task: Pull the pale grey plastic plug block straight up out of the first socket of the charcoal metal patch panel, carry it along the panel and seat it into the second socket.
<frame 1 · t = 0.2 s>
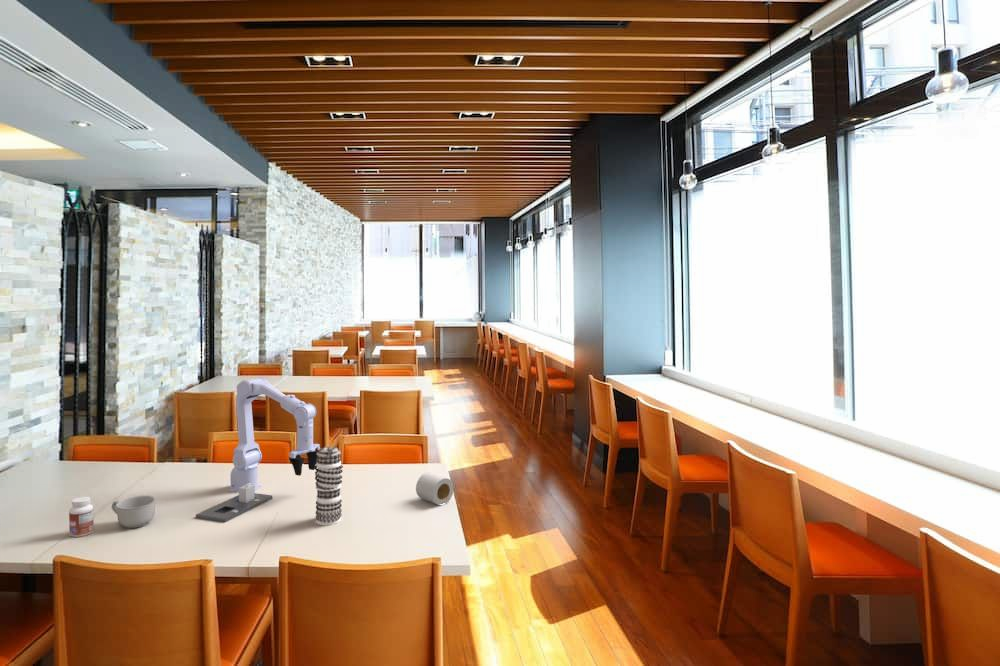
hand: (305, 472, 215), 10 cm above the table, fingers open, 7 cm apart
toilet paper: (434, 502, 215), on the table
pill bottle: (81, 534, 180), on the table
teacup: (132, 524, 189), on the table
grey patterned cylinder: (328, 521, 195), on the table
plug: (246, 502, 209), resting on panel
panel: (236, 508, 204), on the table
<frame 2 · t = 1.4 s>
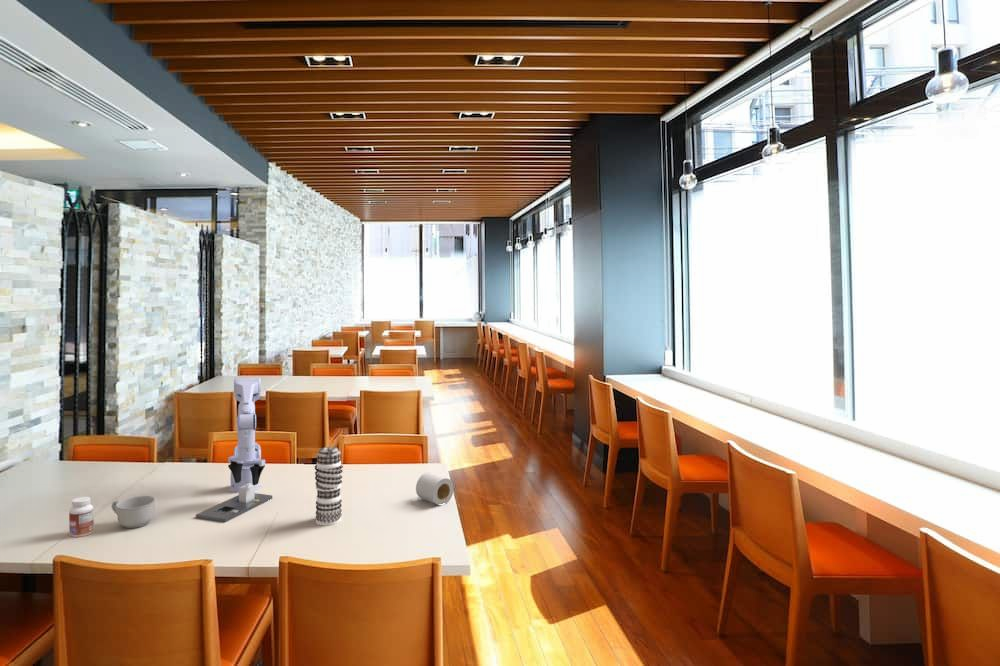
hand: (246, 483, 209), 7 cm above the table, fingers open, 7 cm apart
nothing on the table moved.
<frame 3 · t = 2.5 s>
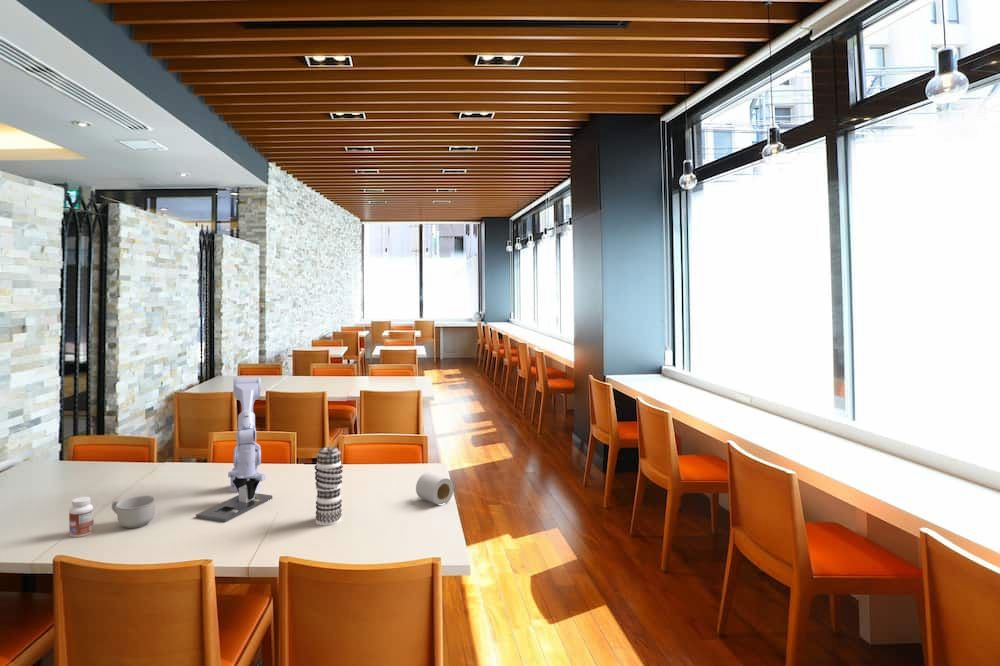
hand: (246, 498, 209), 2 cm above the table, fingers closed on plug, 3 cm apart
plug: (246, 502, 209), resting on panel, touching gripper
everything else where it was.
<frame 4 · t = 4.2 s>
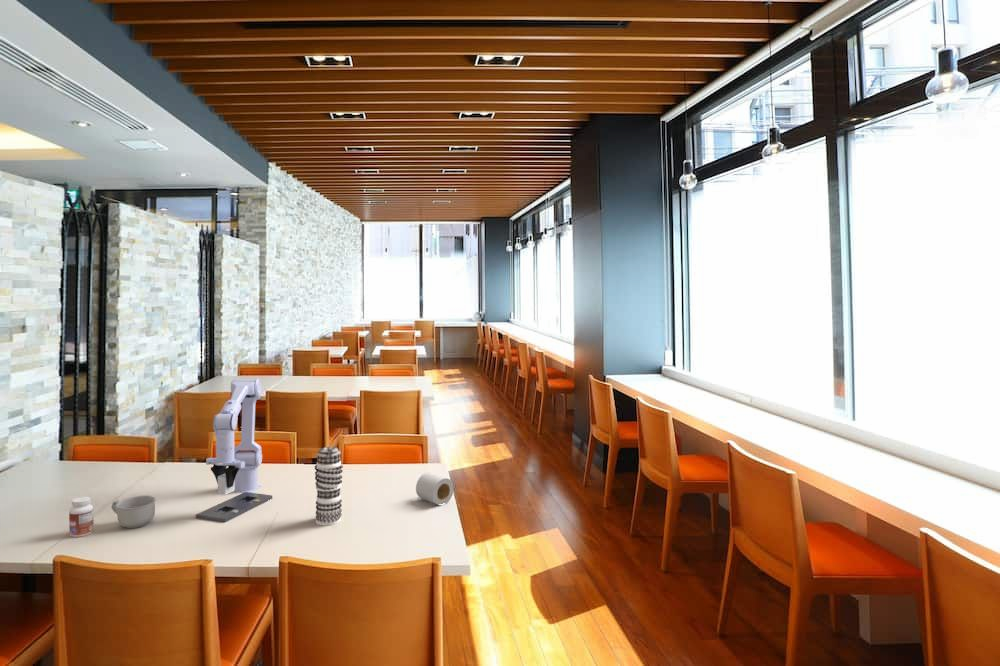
hand: (225, 486, 198), 10 cm above the table, fingers closed on plug, 3 cm apart
plug: (226, 492, 199), point 8 cm above the table, touching gripper
everything else where it was.
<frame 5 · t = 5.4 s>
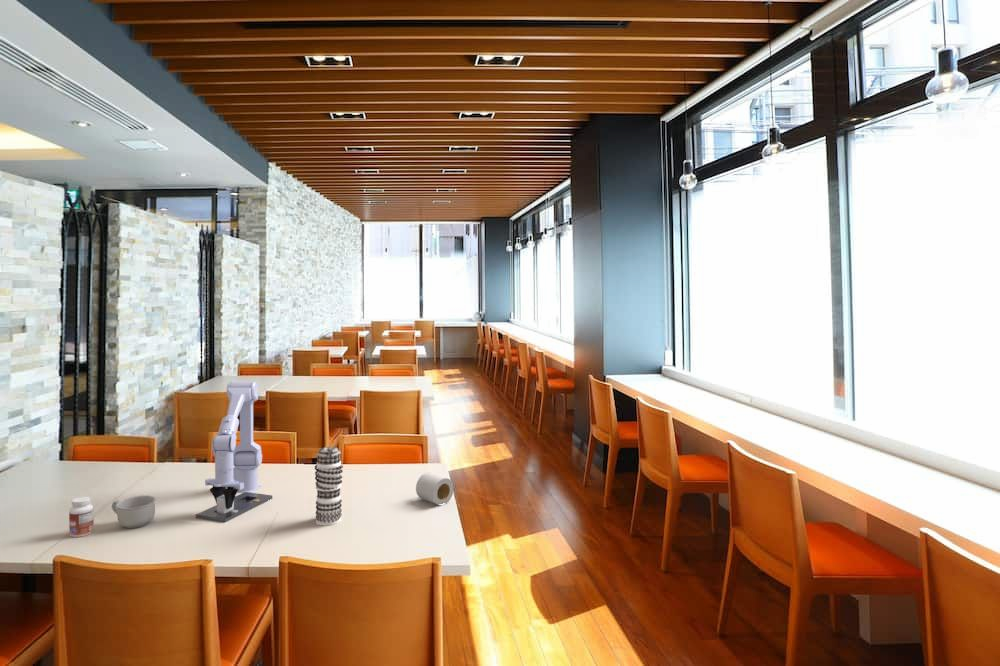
hand: (224, 507, 198), 2 cm above the table, fingers closed on plug, 3 cm apart
plug: (225, 512, 199), resting on panel, touching gripper
everything else where it was.
when the fingers open (2 cm above the table, at t = 5.7 s): plug stays where it is, resting on panel.
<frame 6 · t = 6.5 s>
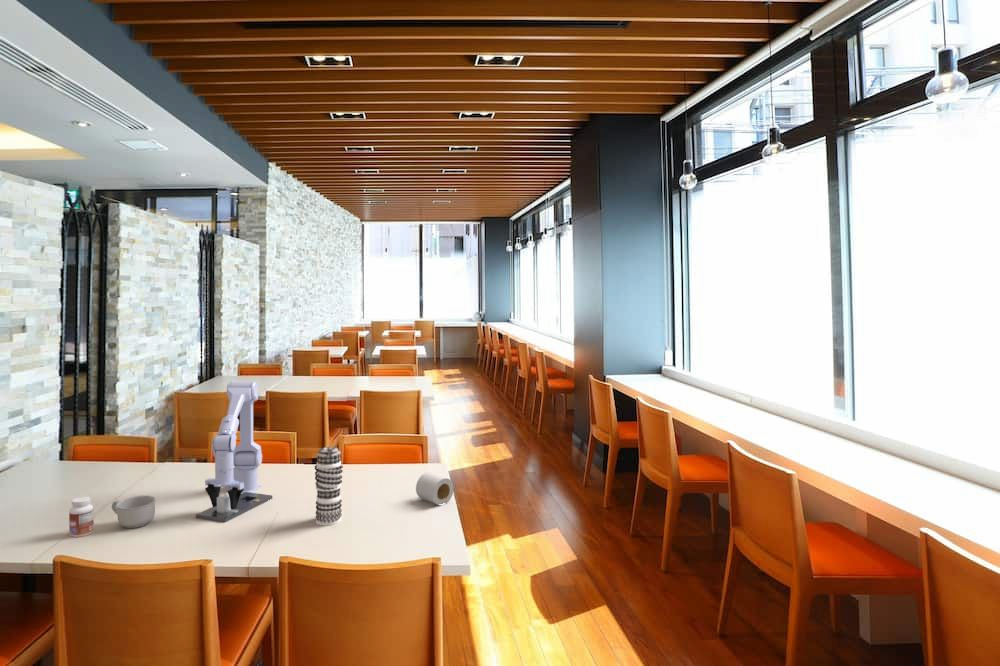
hand: (224, 507, 198), 2 cm above the table, fingers open, 7 cm apart
plug: (225, 512, 199), resting on panel
everything else where it was.
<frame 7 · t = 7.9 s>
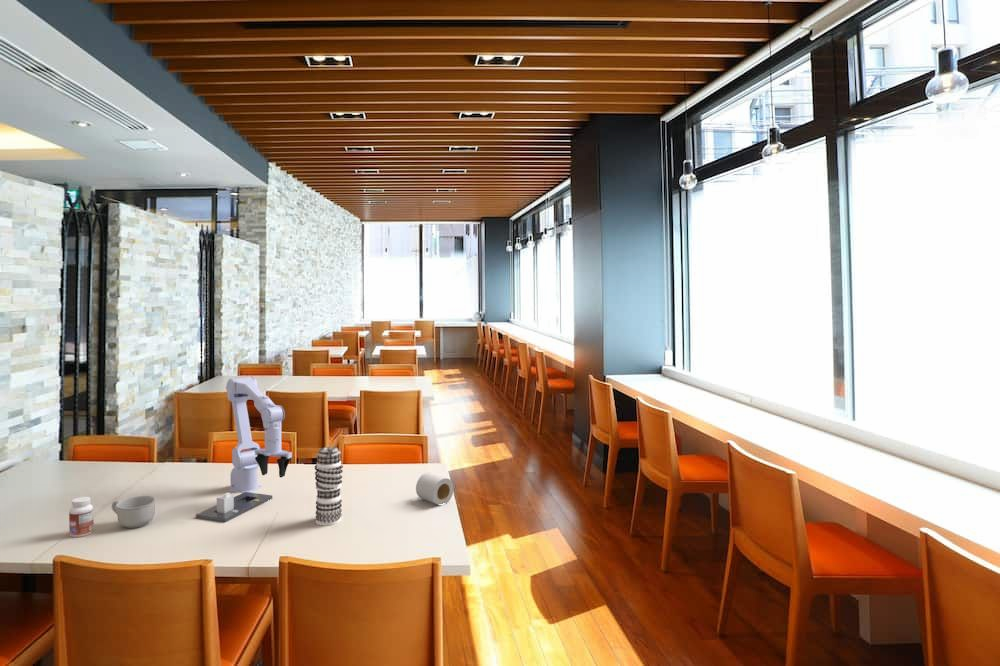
hand: (273, 475, 211), 10 cm above the table, fingers open, 7 cm apart
nothing on the table moved.
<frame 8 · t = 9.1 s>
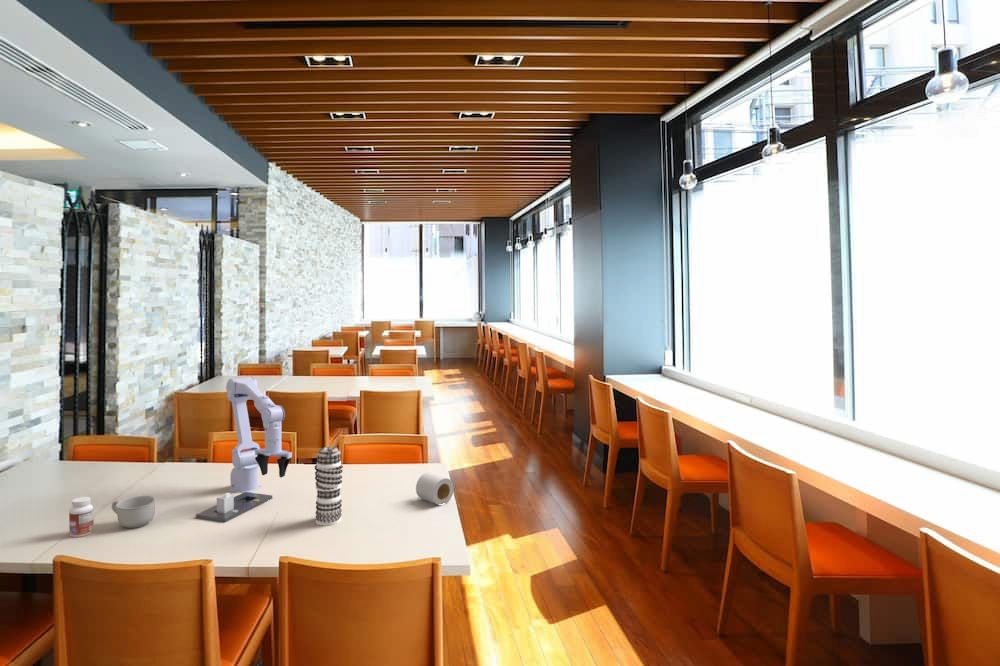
hand: (273, 475, 211), 10 cm above the table, fingers open, 7 cm apart
nothing on the table moved.
at the end: plug 0.3 cm from the target spot on the panel, point 0.3 cm above the panel's base; plug tilted 0°; the gripper is holding nothing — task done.
